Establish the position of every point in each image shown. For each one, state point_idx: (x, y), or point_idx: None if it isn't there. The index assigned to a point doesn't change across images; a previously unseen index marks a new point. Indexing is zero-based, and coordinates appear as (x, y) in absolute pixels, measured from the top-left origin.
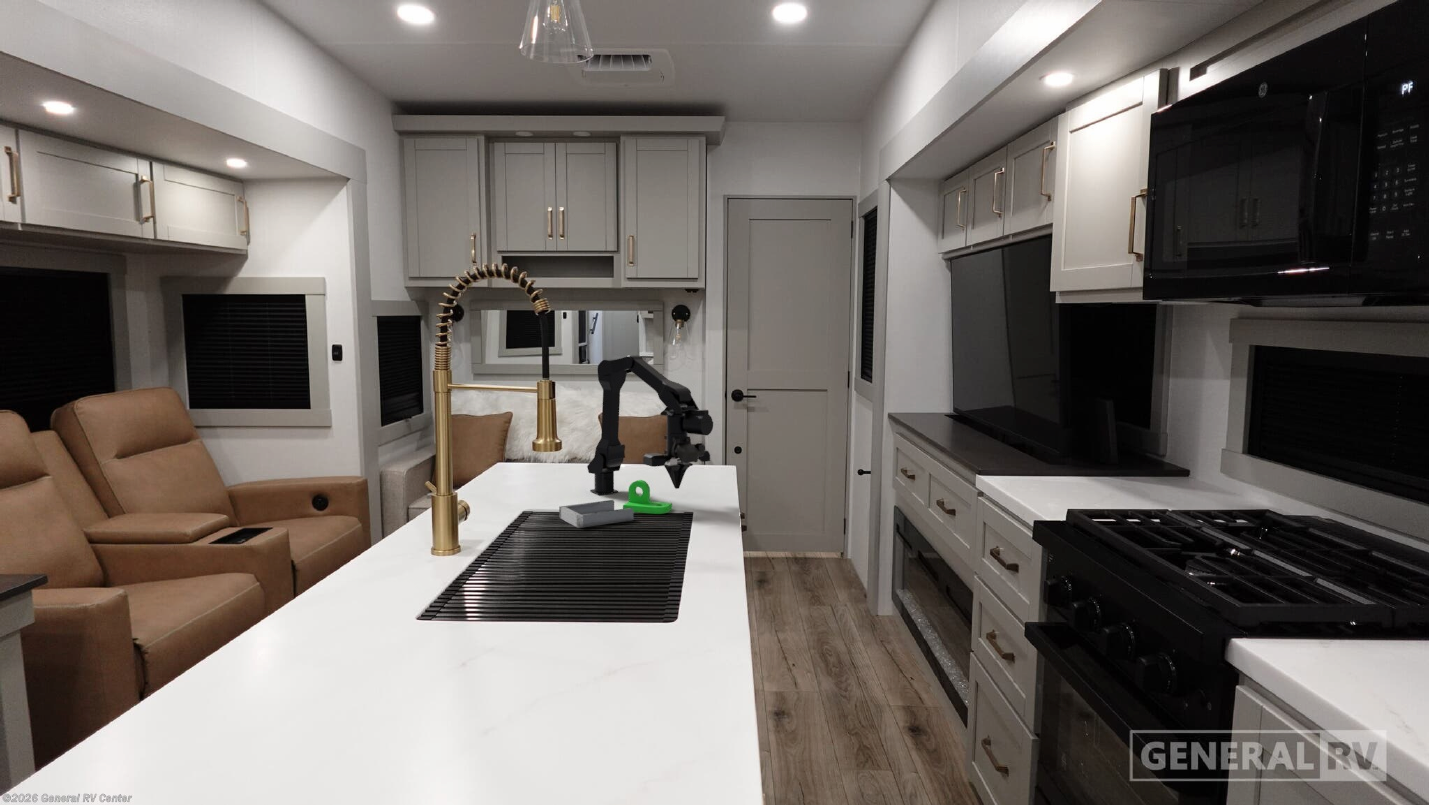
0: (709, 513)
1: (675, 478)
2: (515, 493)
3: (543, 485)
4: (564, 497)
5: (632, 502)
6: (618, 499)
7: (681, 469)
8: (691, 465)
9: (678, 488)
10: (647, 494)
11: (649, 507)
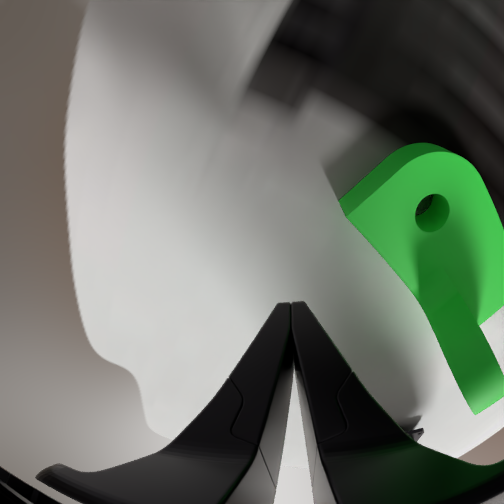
0: (163, 28)
1: (343, 365)
2: (476, 443)
3: None
4: (459, 427)
5: (475, 315)
6: (395, 408)
7: (253, 468)
8: (63, 470)
9: (281, 305)
10: (468, 312)
11: (489, 198)
